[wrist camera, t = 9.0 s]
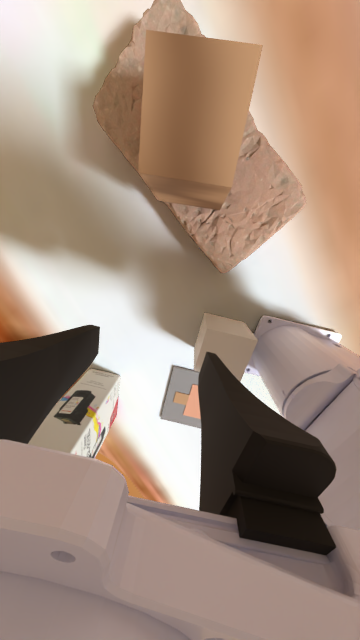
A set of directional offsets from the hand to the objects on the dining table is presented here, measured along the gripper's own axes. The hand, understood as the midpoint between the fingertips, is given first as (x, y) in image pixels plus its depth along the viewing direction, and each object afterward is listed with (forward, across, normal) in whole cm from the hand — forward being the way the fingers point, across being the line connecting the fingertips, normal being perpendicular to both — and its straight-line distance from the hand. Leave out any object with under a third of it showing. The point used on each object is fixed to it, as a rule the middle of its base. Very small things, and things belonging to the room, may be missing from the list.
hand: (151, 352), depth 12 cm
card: (+10, -6, +13) cm, 18 cm away
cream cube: (+10, -7, +2) cm, 13 cm away
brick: (+11, 0, -13) cm, 17 cm away
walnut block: (+6, 0, -12) cm, 14 cm away
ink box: (+11, +7, +16) cm, 21 cm away
